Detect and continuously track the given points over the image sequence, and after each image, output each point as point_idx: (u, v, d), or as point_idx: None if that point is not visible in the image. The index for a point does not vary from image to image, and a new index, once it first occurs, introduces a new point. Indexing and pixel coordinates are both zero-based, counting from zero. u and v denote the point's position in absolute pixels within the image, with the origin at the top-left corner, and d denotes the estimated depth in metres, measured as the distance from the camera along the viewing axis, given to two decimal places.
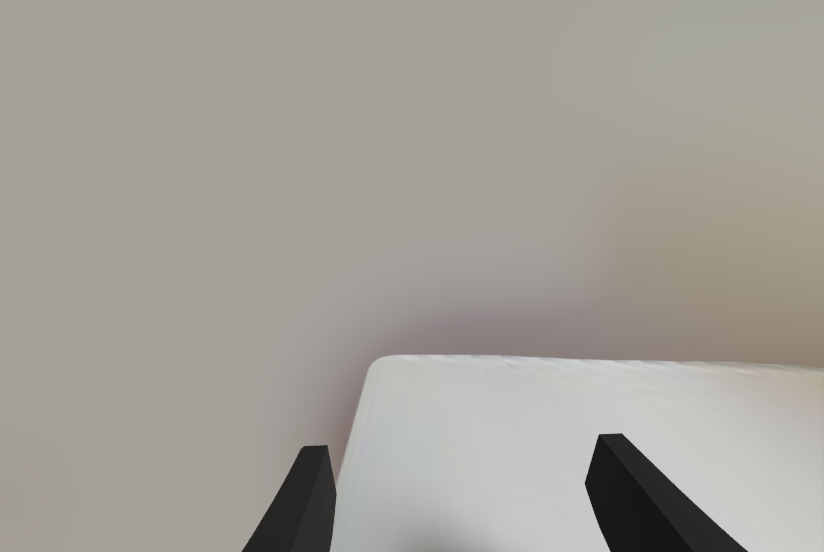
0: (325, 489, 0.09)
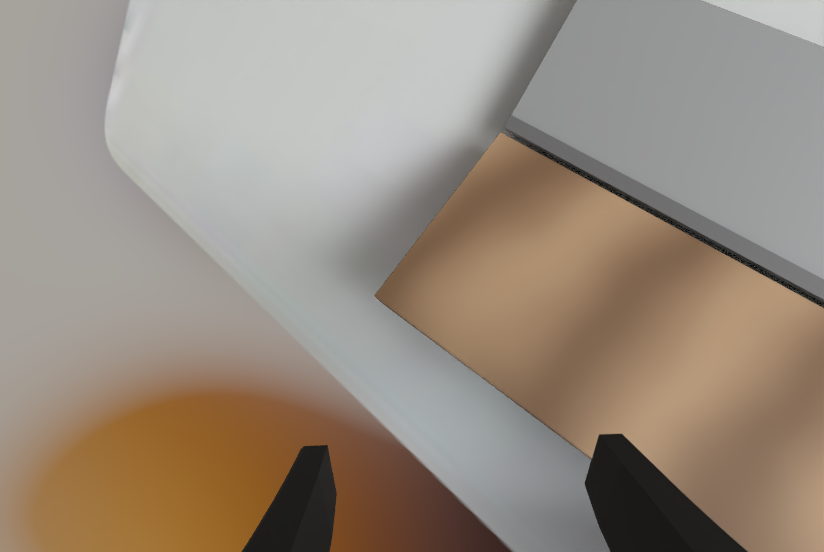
0: (325, 489, 0.09)
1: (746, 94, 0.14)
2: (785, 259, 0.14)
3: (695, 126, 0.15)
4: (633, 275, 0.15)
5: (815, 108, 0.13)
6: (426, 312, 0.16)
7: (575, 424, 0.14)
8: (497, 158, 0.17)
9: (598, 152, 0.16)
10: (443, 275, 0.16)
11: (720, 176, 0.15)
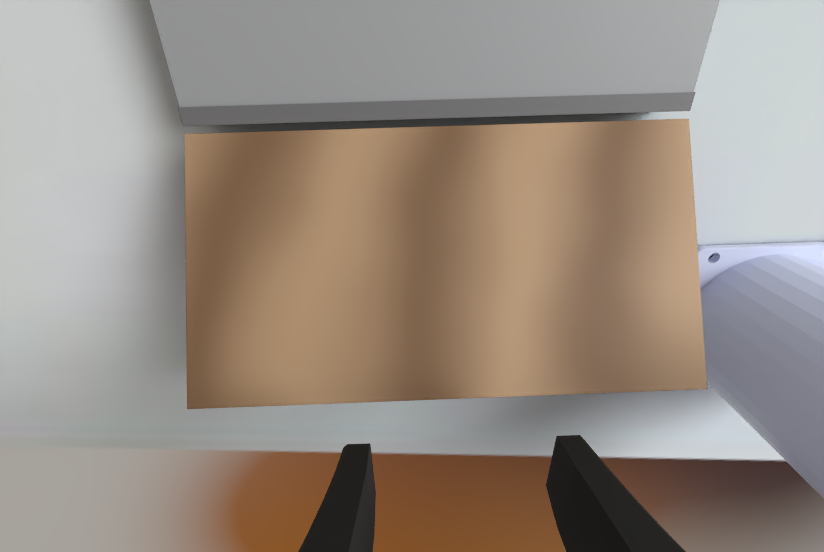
0: (369, 487, 0.09)
1: None
2: (529, 96, 0.13)
3: (366, 8, 0.12)
4: (417, 202, 0.13)
5: None
6: (253, 384, 0.13)
7: (457, 380, 0.13)
8: (203, 167, 0.13)
9: (299, 94, 0.13)
10: (241, 334, 0.13)
11: (425, 50, 0.13)
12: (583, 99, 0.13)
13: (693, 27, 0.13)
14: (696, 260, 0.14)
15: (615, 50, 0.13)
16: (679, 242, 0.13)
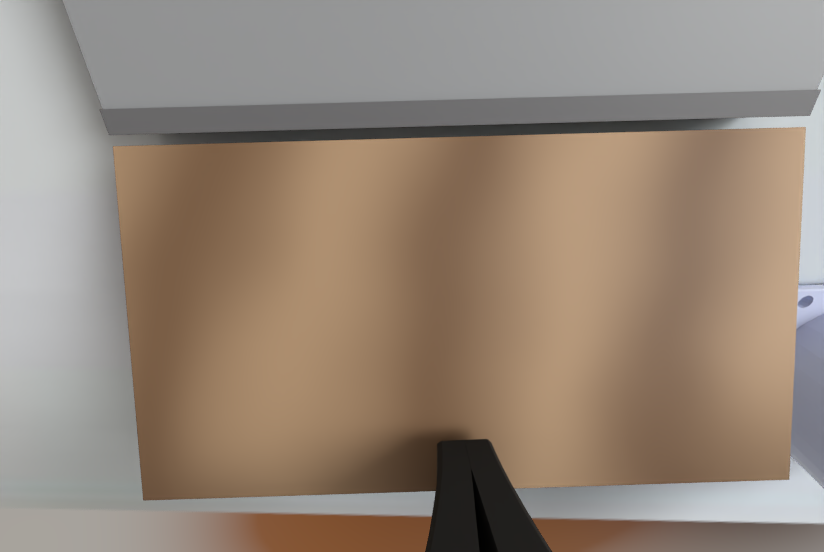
0: None
1: None
2: (588, 96, 0.10)
3: None
4: (429, 243, 0.10)
5: None
6: (223, 471, 0.11)
7: None
8: (141, 194, 0.10)
9: (268, 91, 0.09)
10: (204, 412, 0.10)
11: (445, 29, 0.09)
12: (662, 100, 0.10)
13: None
14: (793, 320, 0.10)
15: (714, 29, 0.09)
16: (774, 297, 0.10)
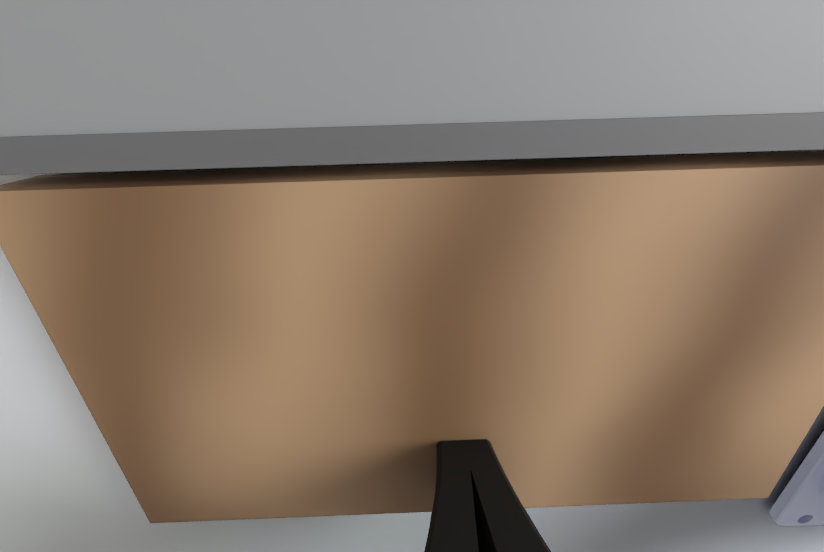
0: None
1: None
2: (671, 117, 0.06)
3: None
4: (430, 308, 0.08)
5: None
6: (223, 503, 0.11)
7: None
8: (40, 255, 0.07)
9: (190, 111, 0.06)
10: (191, 461, 0.10)
11: (459, 16, 0.06)
12: (778, 122, 0.07)
13: None
14: None
15: None
16: None
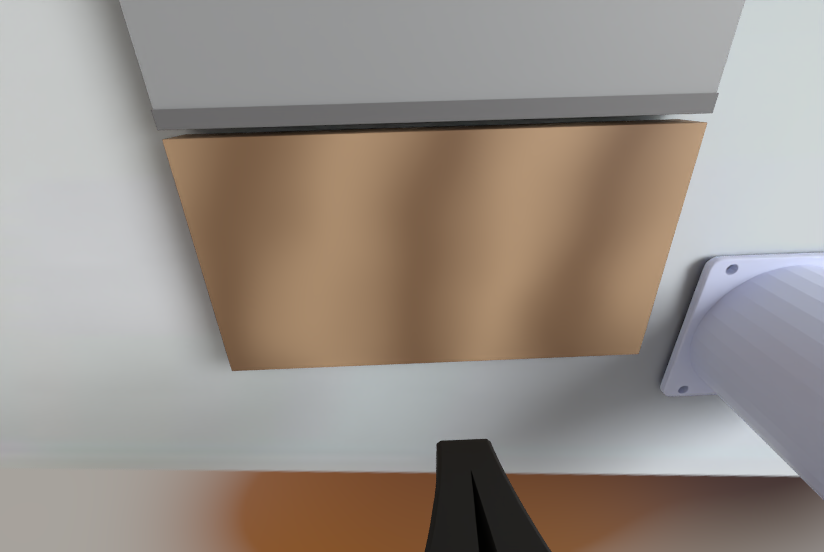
0: None
1: None
2: (537, 98, 0.12)
3: (359, 0, 0.11)
4: (413, 212, 0.14)
5: None
6: (281, 354, 0.16)
7: (443, 350, 0.17)
8: (192, 177, 0.13)
9: (285, 95, 0.12)
10: (264, 321, 0.16)
11: (424, 46, 0.11)
12: (596, 101, 0.12)
13: (718, 21, 0.11)
14: (664, 261, 0.15)
15: (632, 46, 0.12)
16: (654, 247, 0.15)
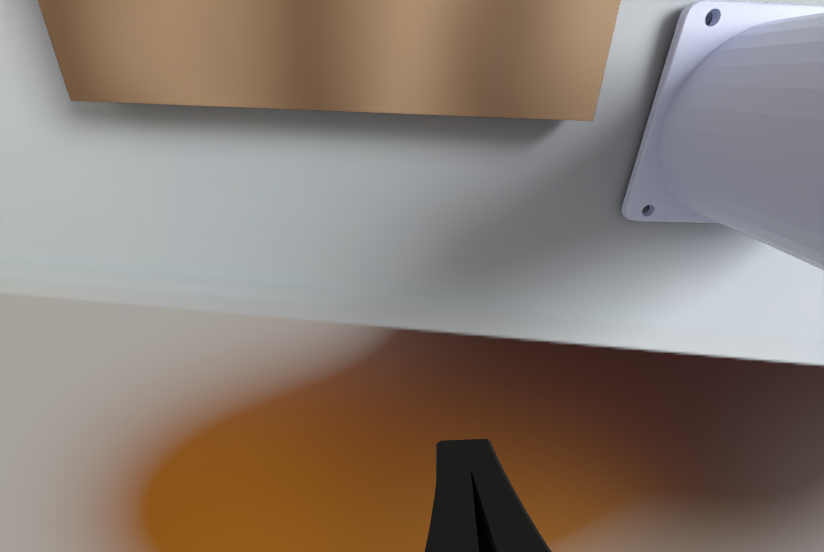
0: None
1: None
2: None
3: None
4: None
5: None
6: (133, 78, 0.13)
7: (346, 91, 0.13)
8: None
9: None
10: (104, 15, 0.12)
11: None
12: None
13: None
14: None
15: None
16: None
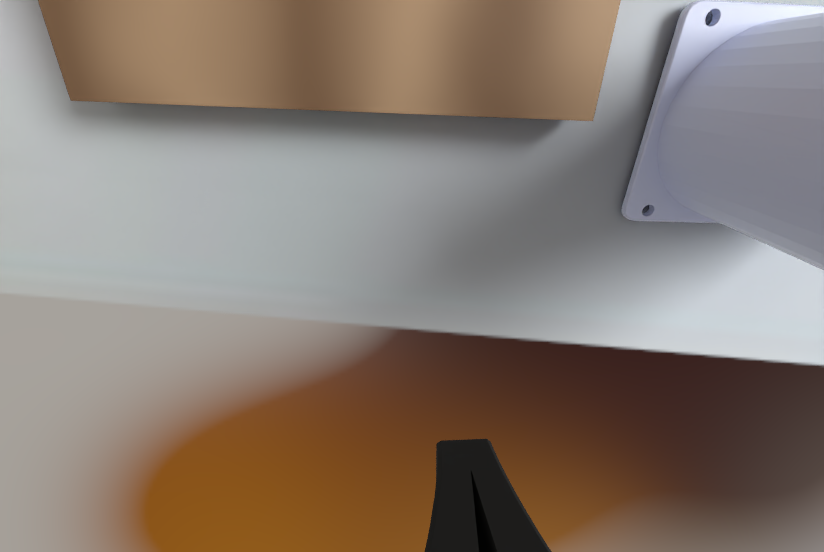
0: None
1: None
2: None
3: None
4: None
5: None
6: (133, 78, 0.13)
7: (346, 91, 0.13)
8: None
9: None
10: (104, 15, 0.12)
11: None
12: None
13: None
14: None
15: None
16: None
